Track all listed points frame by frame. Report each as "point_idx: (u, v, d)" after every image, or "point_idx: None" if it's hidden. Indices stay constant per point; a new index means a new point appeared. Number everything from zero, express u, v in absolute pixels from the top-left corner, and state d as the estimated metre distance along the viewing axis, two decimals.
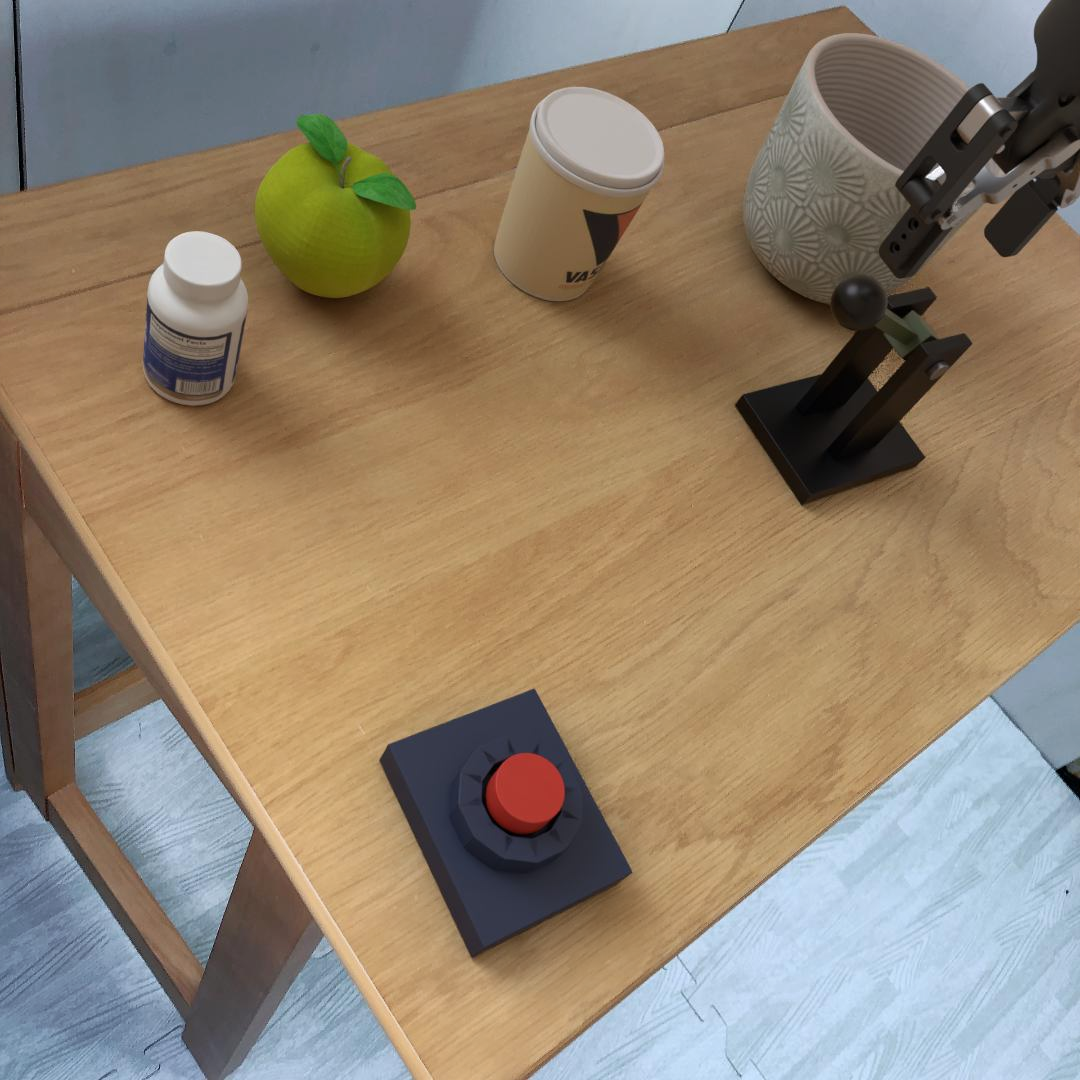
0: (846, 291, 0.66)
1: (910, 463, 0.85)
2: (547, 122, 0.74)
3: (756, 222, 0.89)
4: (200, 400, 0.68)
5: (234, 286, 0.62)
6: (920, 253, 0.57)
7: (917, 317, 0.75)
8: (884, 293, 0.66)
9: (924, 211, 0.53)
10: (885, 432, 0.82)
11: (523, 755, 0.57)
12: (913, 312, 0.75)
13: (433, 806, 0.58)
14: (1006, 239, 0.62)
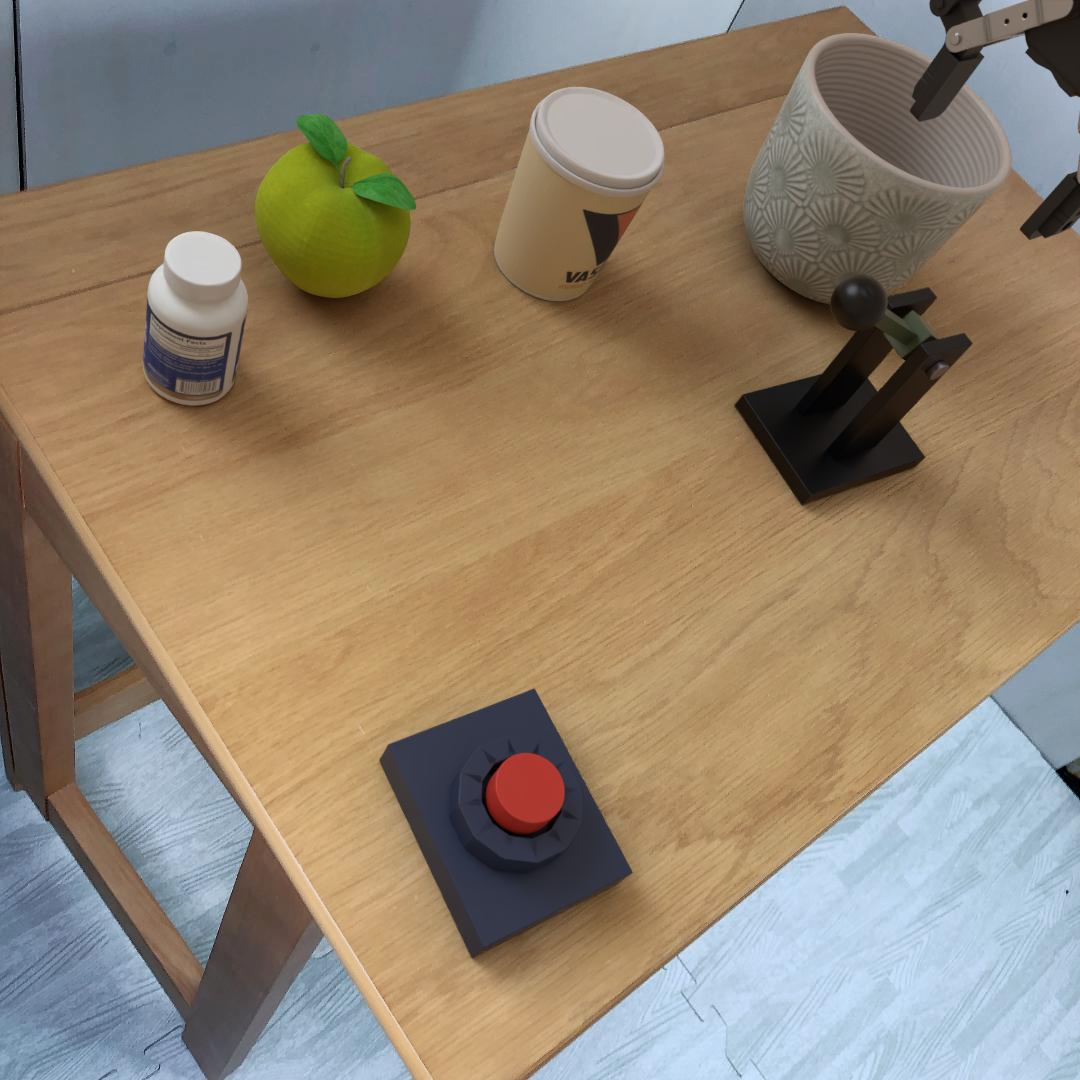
0: (846, 291, 0.66)
1: (910, 463, 0.85)
2: (547, 122, 0.74)
3: (756, 222, 0.89)
4: (200, 400, 0.68)
5: (234, 286, 0.62)
6: (930, 82, 0.58)
7: (917, 317, 0.75)
8: (884, 293, 0.66)
9: None
10: (885, 432, 0.82)
11: (523, 755, 0.57)
12: (913, 312, 0.75)
13: (433, 806, 0.58)
14: None
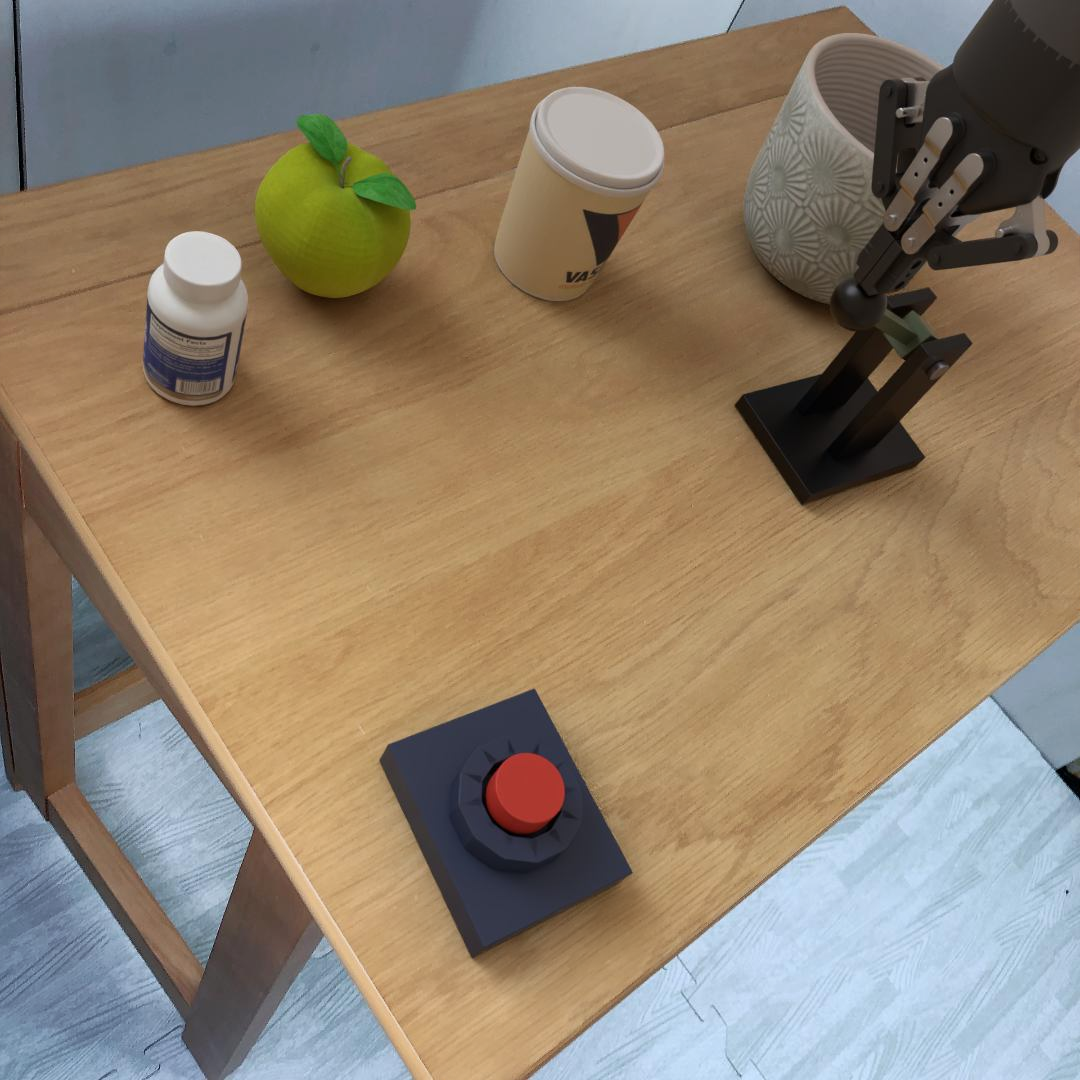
0: (845, 291, 0.66)
1: (910, 463, 0.85)
2: (547, 122, 0.74)
3: (756, 222, 0.89)
4: (200, 400, 0.68)
5: (234, 286, 0.62)
6: None
7: (917, 317, 0.75)
8: None
9: None
10: (885, 432, 0.82)
11: (523, 755, 0.57)
12: (913, 312, 0.75)
13: (433, 806, 0.58)
14: None
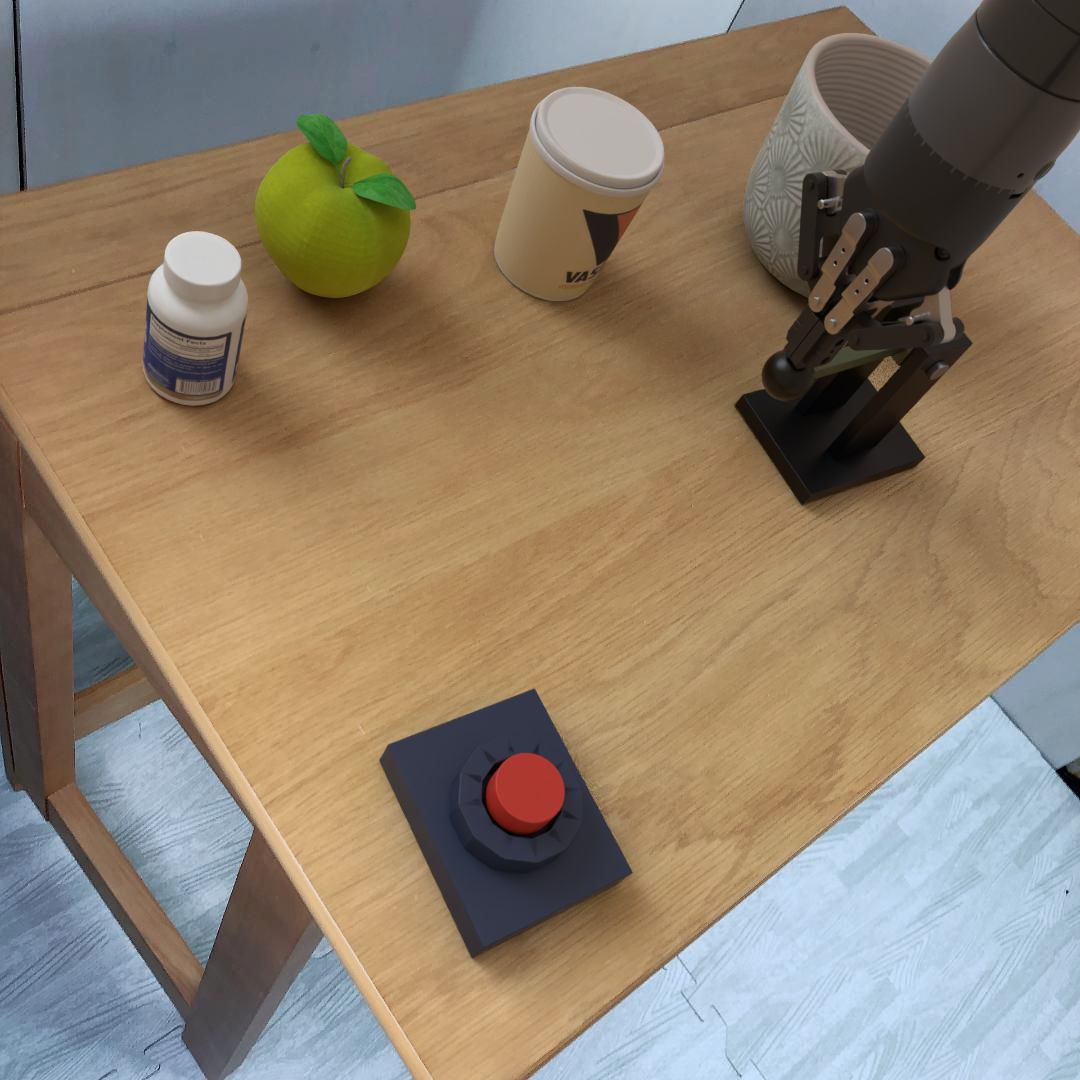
0: (765, 374, 0.71)
1: (910, 463, 0.85)
2: (547, 122, 0.74)
3: (756, 222, 0.89)
4: (200, 400, 0.68)
5: (234, 286, 0.62)
6: None
7: None
8: (801, 369, 0.70)
9: None
10: (885, 432, 0.82)
11: (523, 755, 0.57)
12: None
13: (433, 806, 0.58)
14: None
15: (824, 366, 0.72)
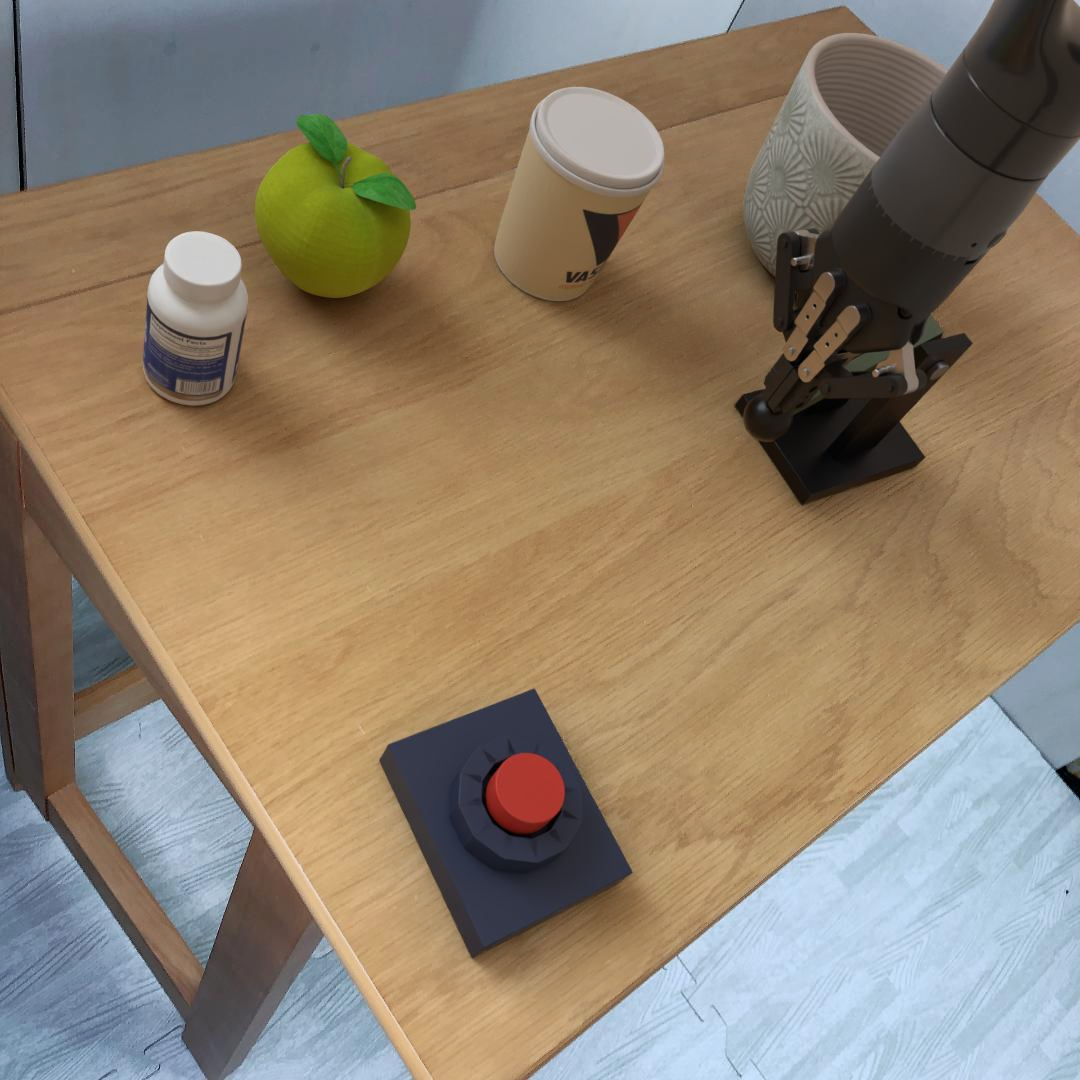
0: (744, 422, 0.76)
1: (910, 463, 0.85)
2: (547, 122, 0.74)
3: (756, 222, 0.89)
4: (200, 400, 0.68)
5: (234, 286, 0.62)
6: None
7: None
8: (771, 416, 0.74)
9: None
10: (885, 432, 0.82)
11: (523, 755, 0.57)
12: None
13: (433, 806, 0.58)
14: None
15: None
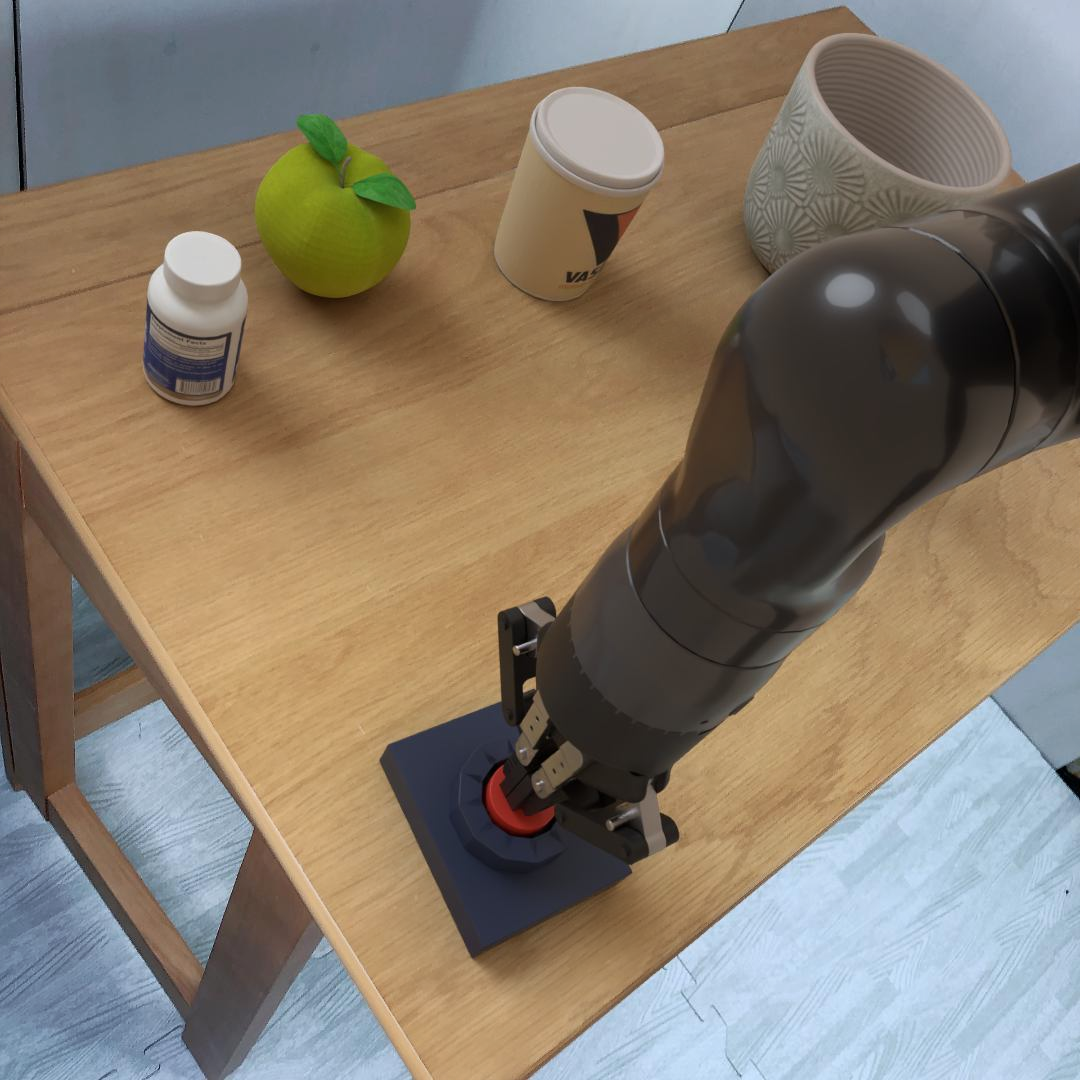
0: None
1: None
2: (547, 122, 0.74)
3: (756, 222, 0.89)
4: (200, 400, 0.68)
5: (234, 286, 0.62)
6: None
7: None
8: None
9: None
10: None
11: None
12: None
13: (433, 806, 0.58)
14: None
15: None
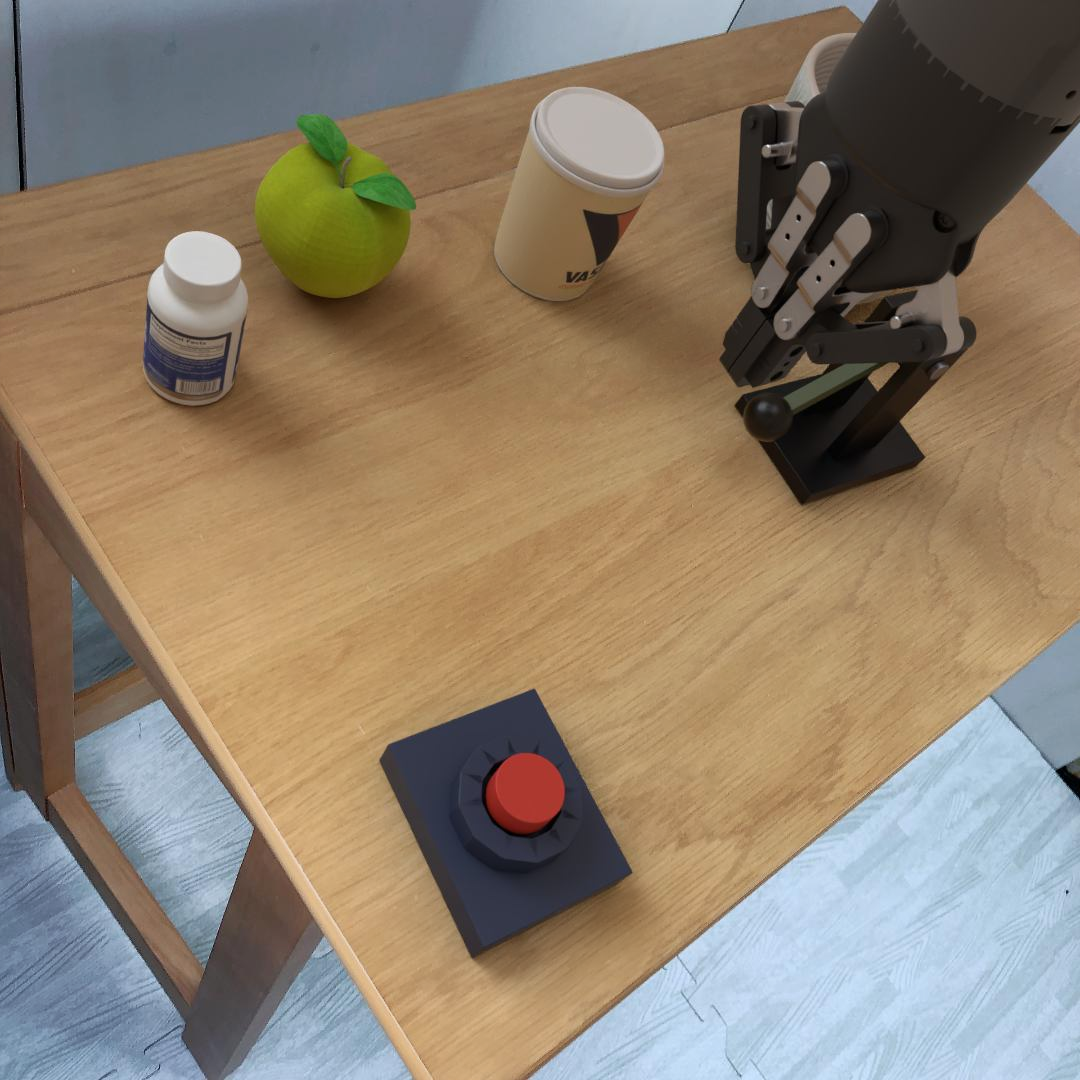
0: (744, 422, 0.76)
1: (910, 463, 0.85)
2: (547, 122, 0.74)
3: None
4: (200, 400, 0.68)
5: (234, 286, 0.62)
6: None
7: None
8: (771, 416, 0.74)
9: None
10: (885, 432, 0.82)
11: (523, 755, 0.57)
12: None
13: (433, 806, 0.58)
14: None
15: (804, 400, 0.75)
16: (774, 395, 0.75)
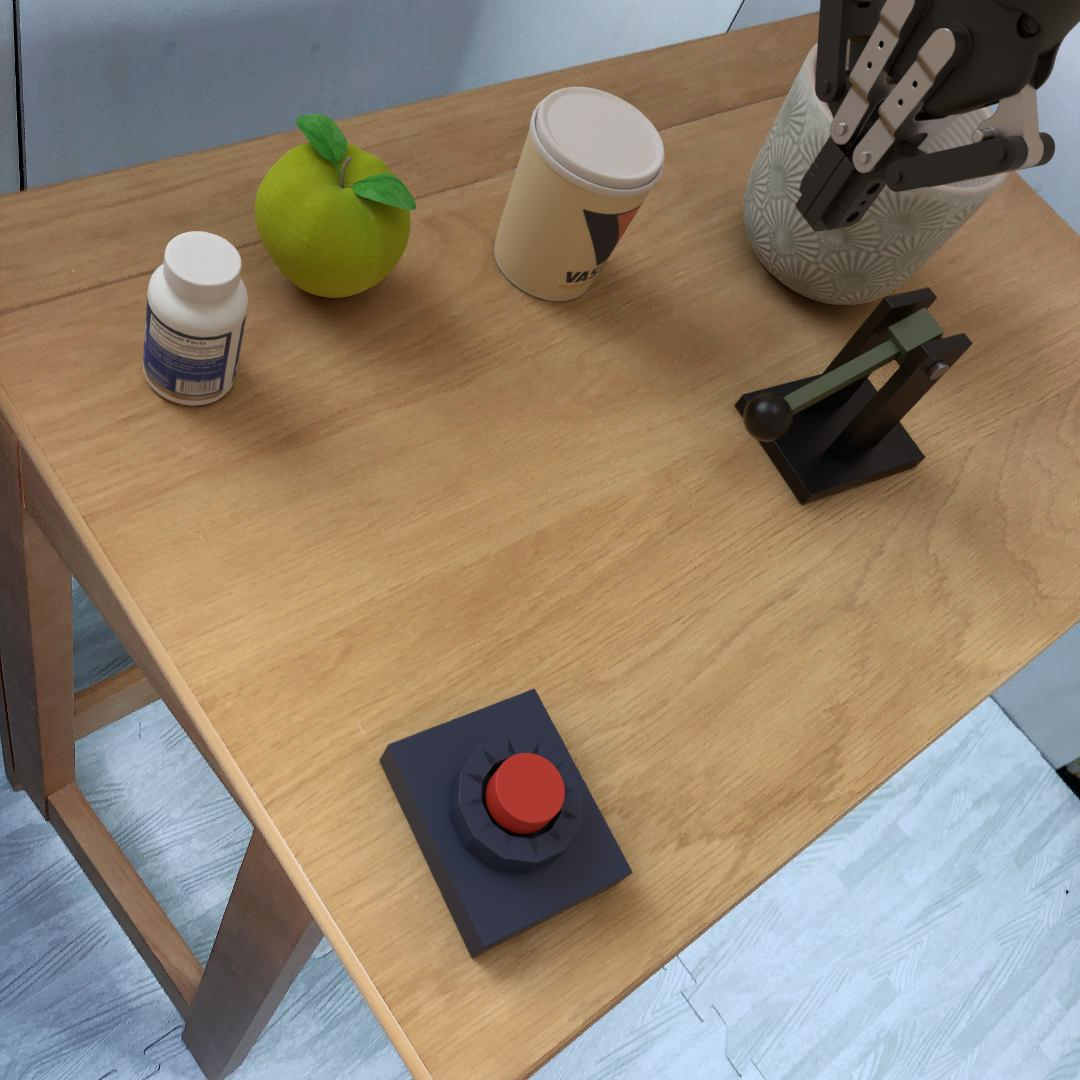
0: (744, 422, 0.76)
1: (910, 463, 0.85)
2: (547, 122, 0.74)
3: (756, 222, 0.89)
4: (200, 400, 0.68)
5: (234, 286, 0.62)
6: None
7: (893, 334, 0.75)
8: (771, 416, 0.74)
9: None
10: (885, 432, 0.82)
11: (523, 755, 0.57)
12: (889, 329, 0.75)
13: (433, 806, 0.58)
14: None
15: (804, 400, 0.75)
16: (774, 395, 0.75)
